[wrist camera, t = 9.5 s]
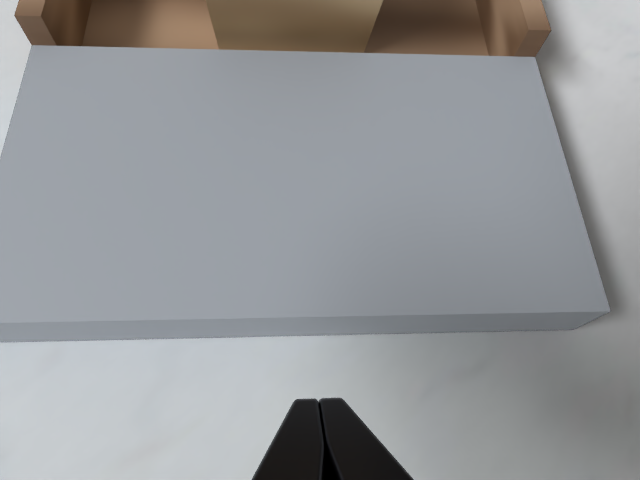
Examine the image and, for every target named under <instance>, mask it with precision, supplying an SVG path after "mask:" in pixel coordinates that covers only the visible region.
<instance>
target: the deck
mask: <svg viewBox="0 0 640 480" xmlns="http://www.w3.org/2000/svg"><path fill="white" fill-rule="evenodd" d="M608 312H610V307H609V304H608V300H607V297H606V294H605V290H604V287H603V284H602V280H601V277H600V274H599V270H598V267H597V263H596V260H595V257H594V253H593V250H592V247H591V243H590V240H589V237H588V233H587V230H586V227H585V223H584V220H583V216H582V213H581V210H580V206H579V203H578V200H577V196H576V193H575V190H574V186H573V183H572V180H571V176H570V173H569V169H568V166H567V163H566V159H565V156H564V153H563V149H562V146H561V143H560V139H559V136H558V132H557V129H556V126H555V122H554V119H553V116H552V112H551V109H550V106H549V102H548V99H547V96H546V92H545V89H544V85H543V82H542V79H541V75H540V72H539V69H538V65H537V62H536V59H535V57H517V56H475V55H432V54H389V53H346V52H303V51H260V50H217V49H175V48H132V47H89V46H45V45H32V46H31V50H30V53H29V57H28V61H27V64H26V68H25V71H24V75H23V78H22V82H21V86H20V89H19V93H18V96H17V100H16V103H15V107H14V111H13V114H12V118H11V121H10V125H9V128H8V132H7V136H6V139H5V143H4V146H3V150H2V154H1V157H0V342H37V341H82V340H128V339H173V338H219V337H265V336H310V335H356V334H401V333H447V332H492V331H538V330H574V329H576V328H578V327H580V326H582V325H584V324H586V323H588V322H590V321H592V320H594V319H596V318H598V317H600V316H602V315H604V314H606V313H608Z"/></svg>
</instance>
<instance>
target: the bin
mask: <svg viewBox="0 0 640 480" xmlns="http://www.w3.org/2000/svg"><path fill="white" fill-rule="evenodd" d="M14 16H15V17H16V19H17V21H18V22H19V24H20V26H21V28H22V29H23V31H24V33H25V34H26V36H27V38H28V39H29V41H30V43H31V45H45V46H89V47H132V48H175V49H217V50H219V47H218V44H217V40H216V36H215V33H214V29H213V25H212V22H211V18H210V15H209V11H208V7H207V4H206V0H19V2H18V5H17V9H16V12H15V15H14ZM550 32H551V28H550V25H549V22H548V19H547V16H546V13H545V10H544V7H543V4H542V1H541V0H383V2H382V5H381V7H380V10H379V13H378V16H377V18H376V21H375V24H374V26H373V29H372V32H371V34H370V37H369V40H368V43H367V45H366V48H365V51H364V53H389V54H432V55H475V56H517V57H535V56H536V55H537V53H538V51H539V50H540V48H541V46H542V45H543V43H544V41H545V40H546V38H547V36H548V35H549V33H550Z"/></svg>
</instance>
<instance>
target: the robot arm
mask: <svg viewBox="0 0 640 480" xmlns="http://www.w3.org/2000/svg"><path fill="white" fill-rule="evenodd" d="M252 480H414V479H413V478H412V477H411V476H410V475H409V474H408V473H407V472H406V470H405V469H404V468H403V467H402V466H401V465H400V464H399V462H398V461H397V460H396V459H395V458H394V457H393V456H392V454H391V453H390V452H389V451H388V450H387V449H386V448H385V446H384V445H383V444H382V443H381V442H380V441H379V440H378V438H377V437H376V436H375V435H374V434H373V433H372V432H371V431H370V429H369V428H368V427H367V426H366V425H365V424H364V423H363V421H362V420H361V419H360V418H359V417H358V416H357V415H356V413H355V412H354V411H353V410H352V409H351V408H350V407H349V405H348V404H347V403H346V402H345V401H344V400H343V399H341V398H322V399H320V400H319V402H318V401H317V400H316V399H296V400H295V401H294V402H293V404H292V406H291V408H290V409H289V411H288V413H287V415H286V417H285V419H284V421H283V422H282V424H281V426H280V428H279V430H278V432H277V433H276V435H275V437H274V439H273V441H272V443H271V445H270V446H269V448H268V450H267V452H266V454H265V456H264V458H263V459H262V461H261V463H260V465H259V467H258V469H257V471H256V472H255V474H254V476H253V478H252Z"/></svg>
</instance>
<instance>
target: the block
mask: <svg viewBox="0 0 640 480" xmlns="http://www.w3.org/2000/svg"><path fill="white" fill-rule="evenodd" d="M382 2H383V0H206V4H207V7H208V11H209V15H210V18H211V22H212V25H213V29H214V33H215V36H216V40H217V44H218V47H219V50H260V51H303V52H346V53H364V51H365V48H366V45H367V43H368V40H369V37H370V34H371V32H372V29H373V26H374V24H375V21H376V18H377V16H378V13H379V10H380V7H381V5H382Z"/></svg>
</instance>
